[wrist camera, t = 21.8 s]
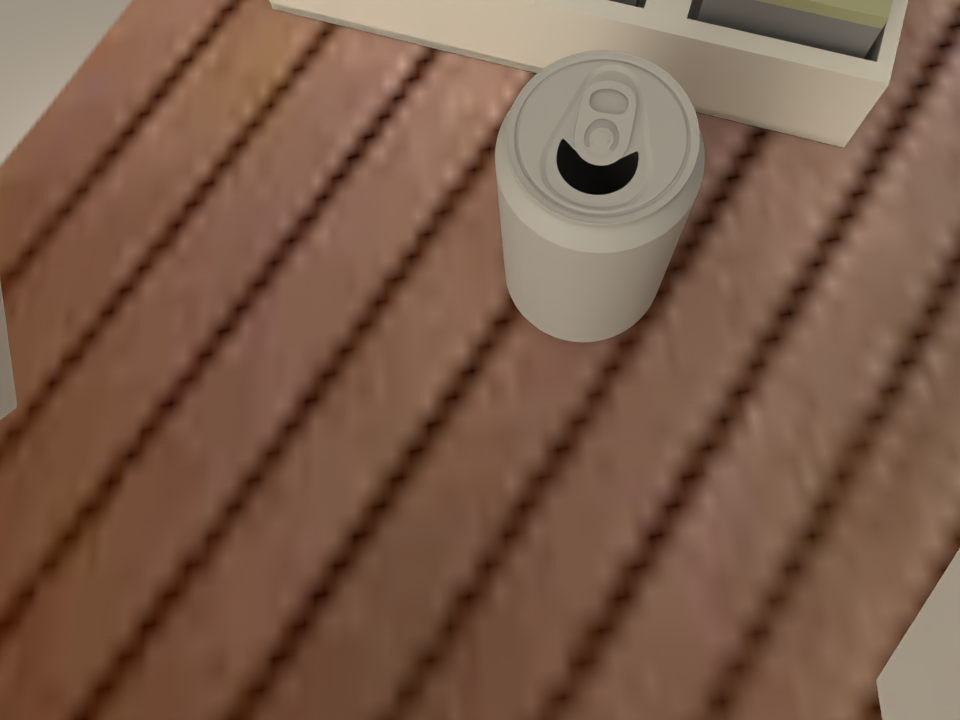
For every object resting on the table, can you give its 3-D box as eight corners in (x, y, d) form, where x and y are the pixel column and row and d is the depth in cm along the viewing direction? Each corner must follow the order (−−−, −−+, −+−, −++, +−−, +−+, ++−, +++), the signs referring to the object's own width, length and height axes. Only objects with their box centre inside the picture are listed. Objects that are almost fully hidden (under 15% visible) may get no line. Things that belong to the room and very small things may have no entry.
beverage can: (491, 331, 37) (471, 215, 25) (522, 191, 38) (517, 21, 27) (643, 361, 36) (694, 255, 25) (669, 217, 38) (729, 54, 26)
